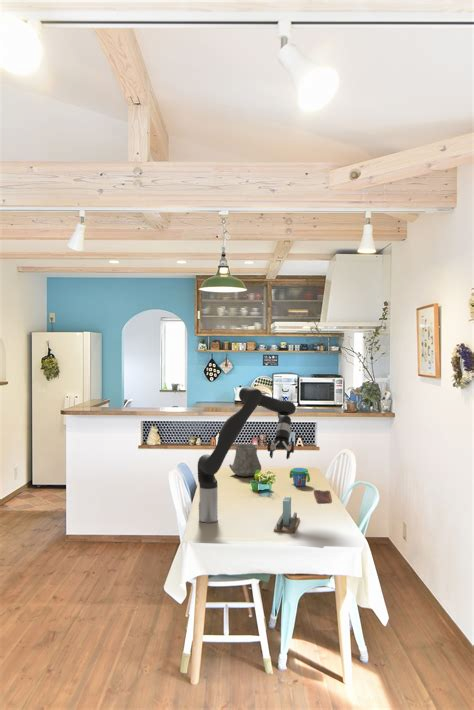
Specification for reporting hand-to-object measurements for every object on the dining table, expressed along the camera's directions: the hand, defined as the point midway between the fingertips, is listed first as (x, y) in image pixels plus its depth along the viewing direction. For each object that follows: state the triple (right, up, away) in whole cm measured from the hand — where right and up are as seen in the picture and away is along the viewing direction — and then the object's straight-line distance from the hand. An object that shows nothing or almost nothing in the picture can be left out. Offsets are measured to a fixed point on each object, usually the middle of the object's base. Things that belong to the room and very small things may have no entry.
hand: (279, 457), depth 287 cm
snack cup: (+18, -29, +58) cm, 67 cm away
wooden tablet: (+28, -30, +32) cm, 52 cm away
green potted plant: (-8, -29, +48) cm, 57 cm away
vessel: (-17, -28, +84) cm, 90 cm away
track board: (+2, -30, -18) cm, 35 cm away
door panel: (+2, -29, -18) cm, 34 cm away
